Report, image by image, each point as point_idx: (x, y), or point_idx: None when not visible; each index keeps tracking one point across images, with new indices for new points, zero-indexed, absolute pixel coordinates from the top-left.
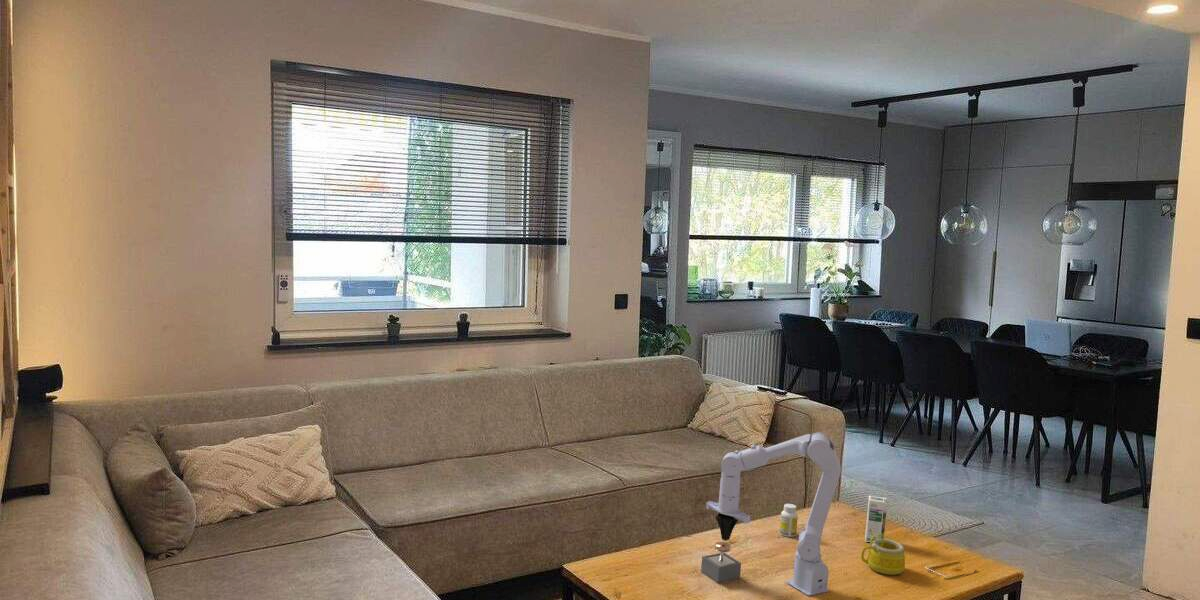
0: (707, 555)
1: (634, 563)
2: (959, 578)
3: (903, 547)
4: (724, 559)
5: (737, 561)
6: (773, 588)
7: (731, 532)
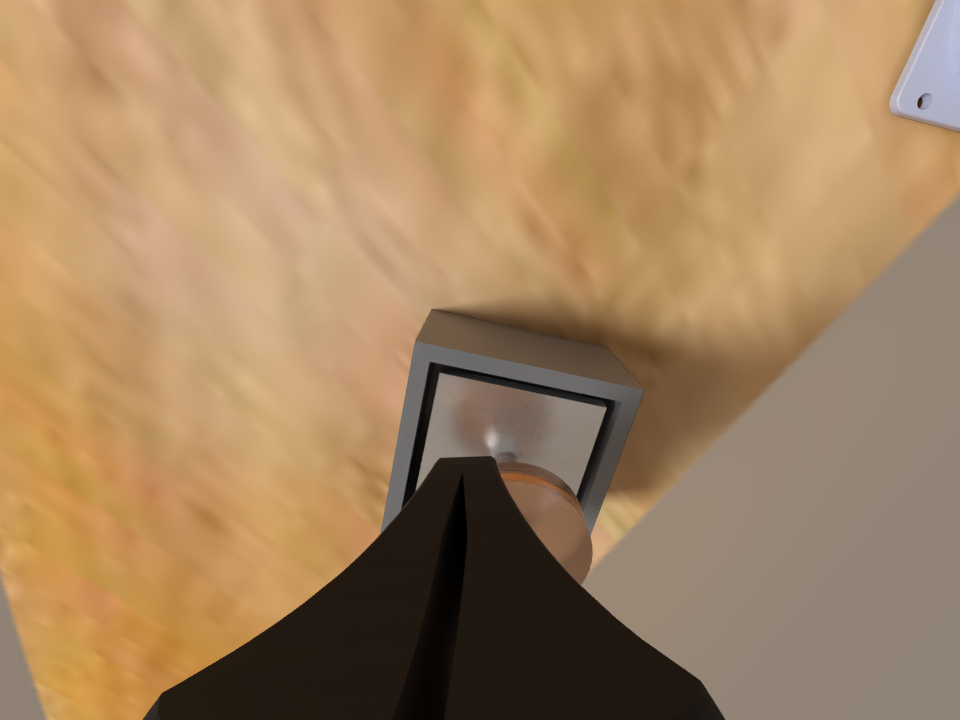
0: (390, 494)
1: (154, 644)
2: None
3: None
4: (510, 437)
5: (607, 392)
6: (842, 275)
7: (513, 503)
